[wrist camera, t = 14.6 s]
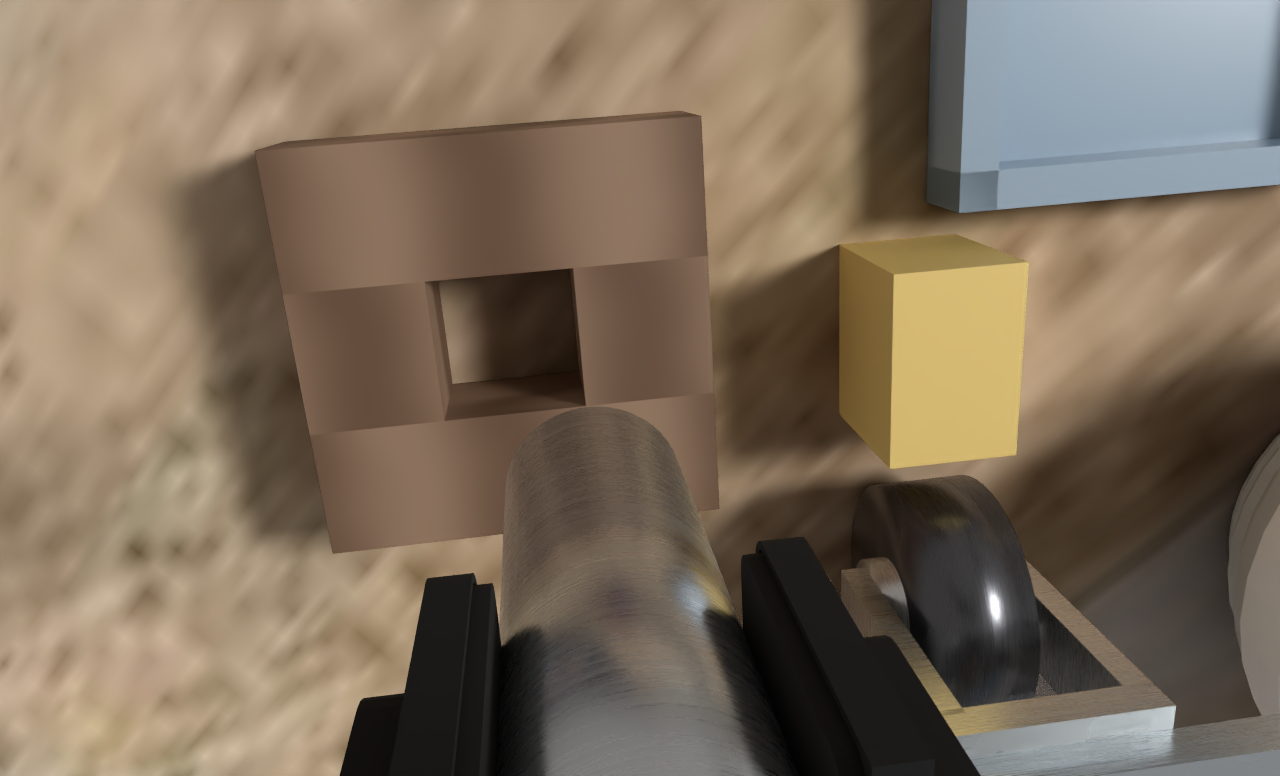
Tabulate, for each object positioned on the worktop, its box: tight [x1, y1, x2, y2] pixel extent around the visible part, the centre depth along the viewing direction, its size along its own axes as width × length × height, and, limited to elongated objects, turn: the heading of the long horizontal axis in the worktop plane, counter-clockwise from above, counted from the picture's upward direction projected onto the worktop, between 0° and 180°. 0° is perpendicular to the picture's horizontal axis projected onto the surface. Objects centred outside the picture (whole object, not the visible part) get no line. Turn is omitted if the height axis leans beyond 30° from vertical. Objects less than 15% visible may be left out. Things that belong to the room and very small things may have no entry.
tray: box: [926, 0, 1280, 213], centre depth 29 cm, size 14×11×2 cm
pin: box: [496, 407, 799, 776], centre depth 11 cm, size 4×4×12 cm
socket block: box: [255, 111, 719, 554], centre depth 29 cm, size 12×12×4 cm
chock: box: [839, 234, 1029, 469], centre depth 30 cm, size 4×6×5 cm, turn 4°
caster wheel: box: [841, 475, 1280, 776], centre depth 31 cm, size 12×16×13 cm
